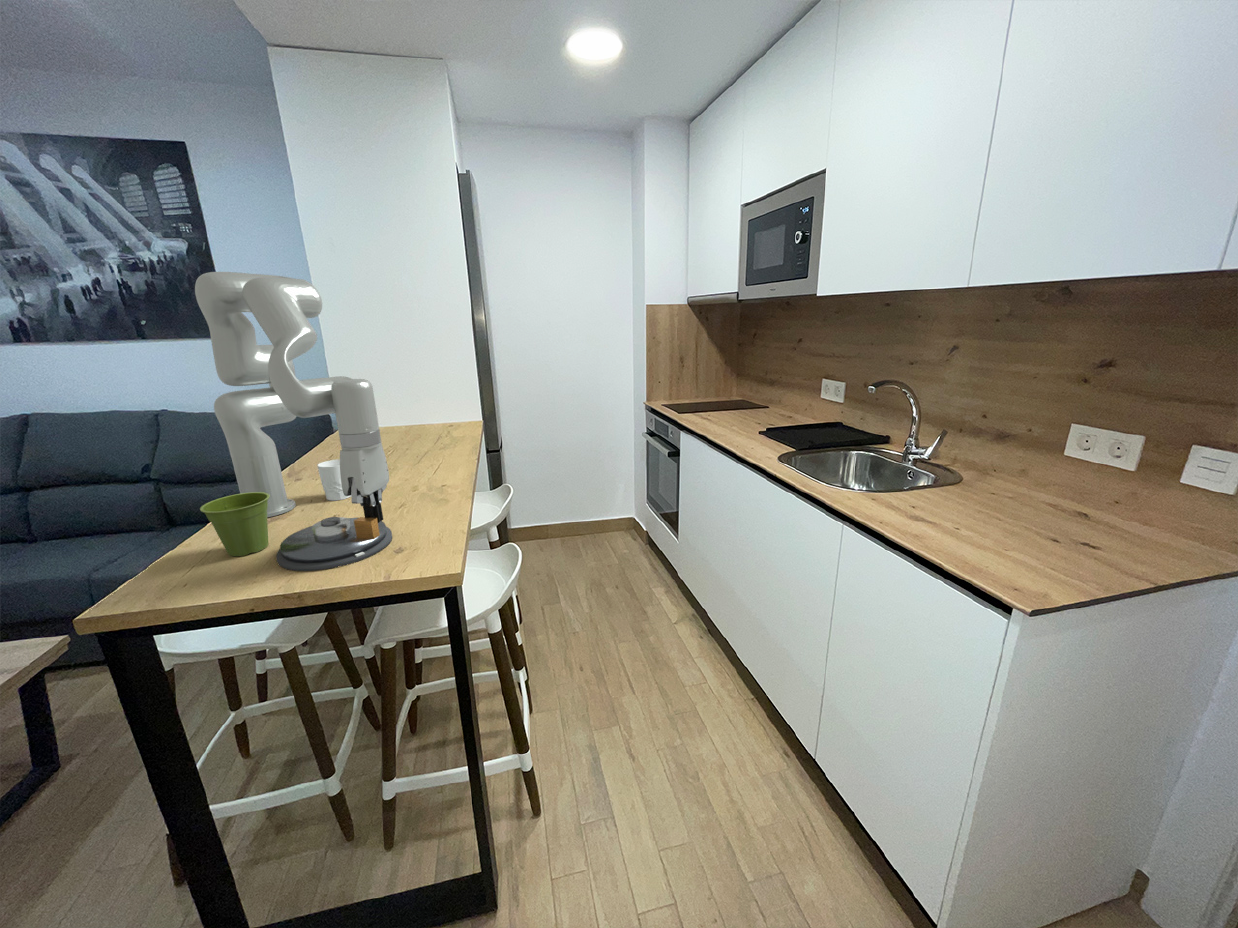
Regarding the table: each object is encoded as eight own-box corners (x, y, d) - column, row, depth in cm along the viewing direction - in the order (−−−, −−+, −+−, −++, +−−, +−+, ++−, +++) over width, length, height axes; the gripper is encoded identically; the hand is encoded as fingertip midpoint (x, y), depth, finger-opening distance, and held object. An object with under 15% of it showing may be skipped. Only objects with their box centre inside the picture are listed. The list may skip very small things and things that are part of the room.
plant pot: (223, 544, 110) (210, 497, 107) (285, 534, 114) (275, 488, 111) (204, 567, 100) (190, 515, 96) (274, 555, 104) (262, 505, 101)
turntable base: (249, 568, 98) (248, 562, 98) (326, 525, 119) (325, 520, 119) (351, 573, 95) (350, 567, 95) (411, 528, 116) (410, 523, 116)
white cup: (361, 492, 143) (355, 459, 140) (344, 501, 136) (337, 467, 133) (335, 492, 144) (329, 459, 141) (317, 501, 136) (310, 466, 134)
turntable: (257, 559, 99) (250, 534, 98) (328, 521, 118) (324, 500, 117) (345, 565, 96) (340, 539, 94) (404, 525, 115) (401, 503, 113)
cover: (306, 542, 103) (303, 525, 102) (330, 529, 110) (327, 513, 109) (336, 544, 102) (333, 527, 101) (358, 530, 109) (355, 514, 108)
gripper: (365, 431, 110) (378, 508, 115) (319, 448, 96) (336, 535, 101) (397, 432, 109) (408, 509, 114) (354, 448, 95) (370, 536, 100)
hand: (374, 521), depth 107 cm, fingers closed
